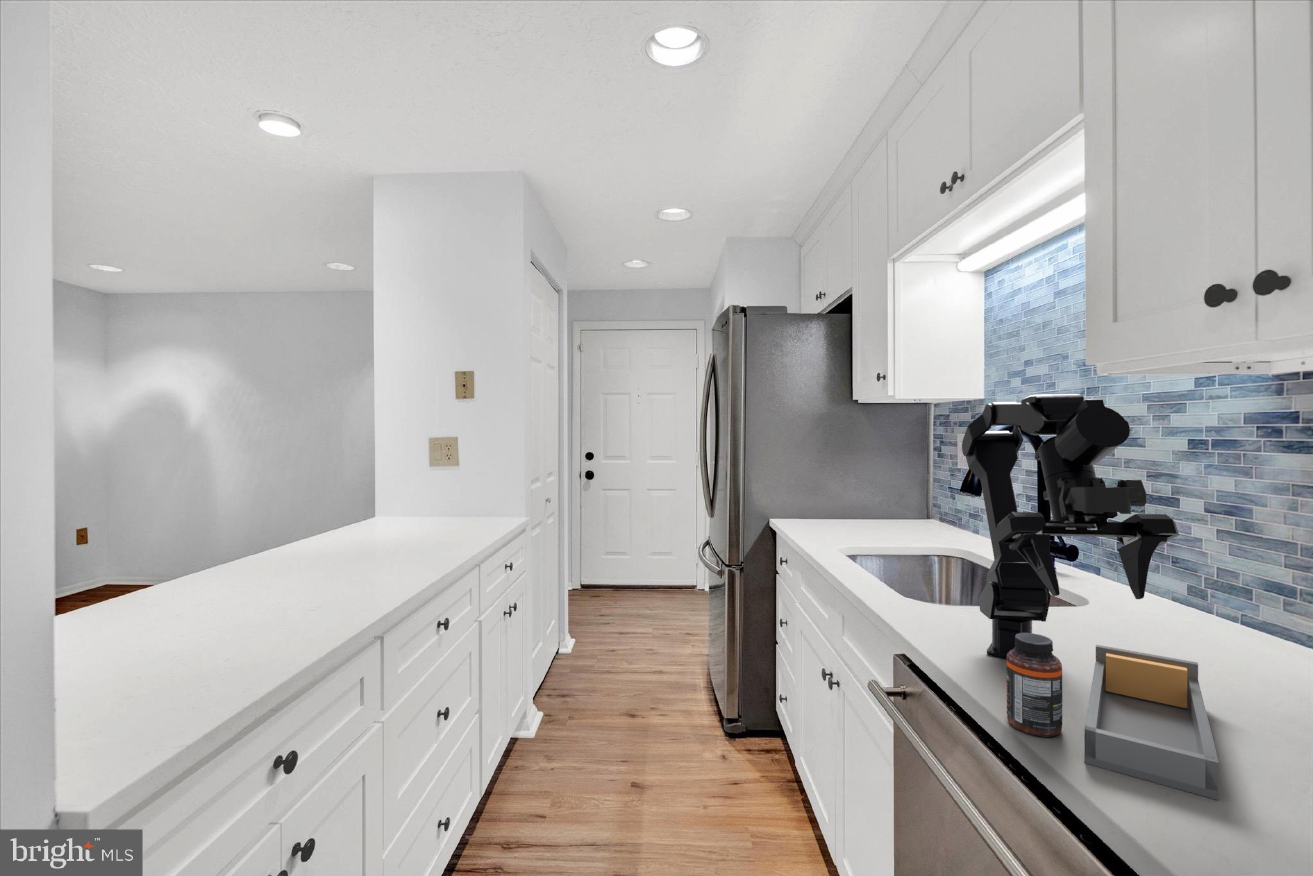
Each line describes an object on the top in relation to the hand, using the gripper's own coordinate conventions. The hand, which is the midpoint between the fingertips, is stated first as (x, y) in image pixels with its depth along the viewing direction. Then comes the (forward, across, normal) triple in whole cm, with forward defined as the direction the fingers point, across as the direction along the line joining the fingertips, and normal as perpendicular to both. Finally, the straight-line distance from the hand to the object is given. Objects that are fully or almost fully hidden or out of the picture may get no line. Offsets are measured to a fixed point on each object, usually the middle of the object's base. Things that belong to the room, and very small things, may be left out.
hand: (1097, 597), depth 73 cm
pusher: (+10, +11, +16) cm, 21 cm away
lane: (+14, +6, +8) cm, 18 cm away
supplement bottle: (+15, -7, +8) cm, 18 cm away
